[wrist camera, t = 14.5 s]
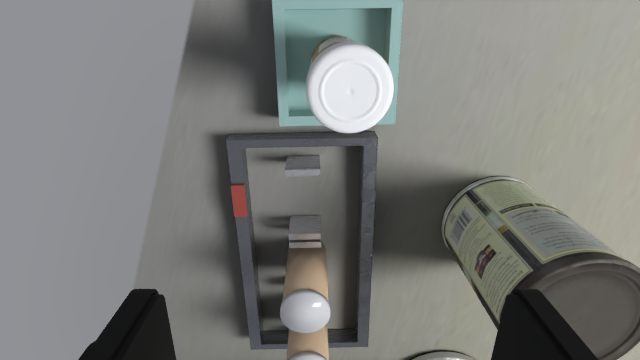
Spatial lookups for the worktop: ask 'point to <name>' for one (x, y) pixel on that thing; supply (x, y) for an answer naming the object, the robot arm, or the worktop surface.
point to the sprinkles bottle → (348, 85)
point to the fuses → (306, 304)
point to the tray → (318, 24)
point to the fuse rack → (303, 225)
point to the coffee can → (543, 262)
